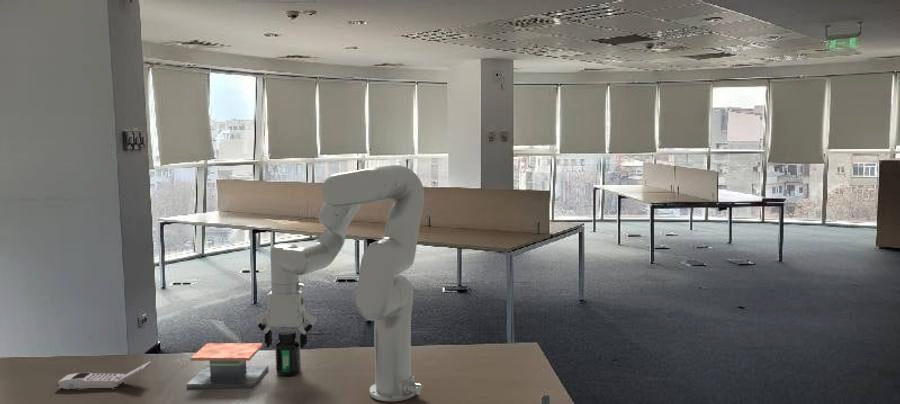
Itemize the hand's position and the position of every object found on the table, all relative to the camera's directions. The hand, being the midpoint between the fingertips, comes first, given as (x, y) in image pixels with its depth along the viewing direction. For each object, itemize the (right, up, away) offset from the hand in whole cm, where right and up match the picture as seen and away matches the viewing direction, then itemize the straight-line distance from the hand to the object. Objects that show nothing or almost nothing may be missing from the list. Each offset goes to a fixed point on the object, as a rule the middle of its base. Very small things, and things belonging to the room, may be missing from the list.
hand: (286, 346), depth 191 cm
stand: (-15, -8, -3) cm, 18 cm away
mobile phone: (-48, -10, -7) cm, 50 cm away
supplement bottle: (+1, -8, +1) cm, 8 cm away
